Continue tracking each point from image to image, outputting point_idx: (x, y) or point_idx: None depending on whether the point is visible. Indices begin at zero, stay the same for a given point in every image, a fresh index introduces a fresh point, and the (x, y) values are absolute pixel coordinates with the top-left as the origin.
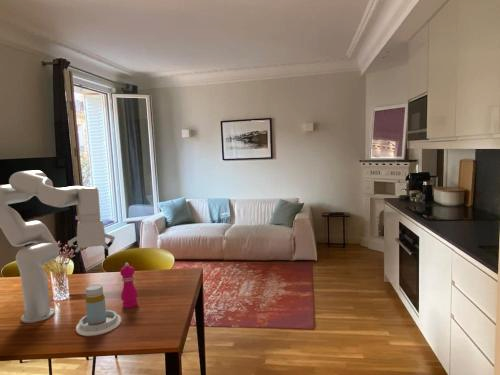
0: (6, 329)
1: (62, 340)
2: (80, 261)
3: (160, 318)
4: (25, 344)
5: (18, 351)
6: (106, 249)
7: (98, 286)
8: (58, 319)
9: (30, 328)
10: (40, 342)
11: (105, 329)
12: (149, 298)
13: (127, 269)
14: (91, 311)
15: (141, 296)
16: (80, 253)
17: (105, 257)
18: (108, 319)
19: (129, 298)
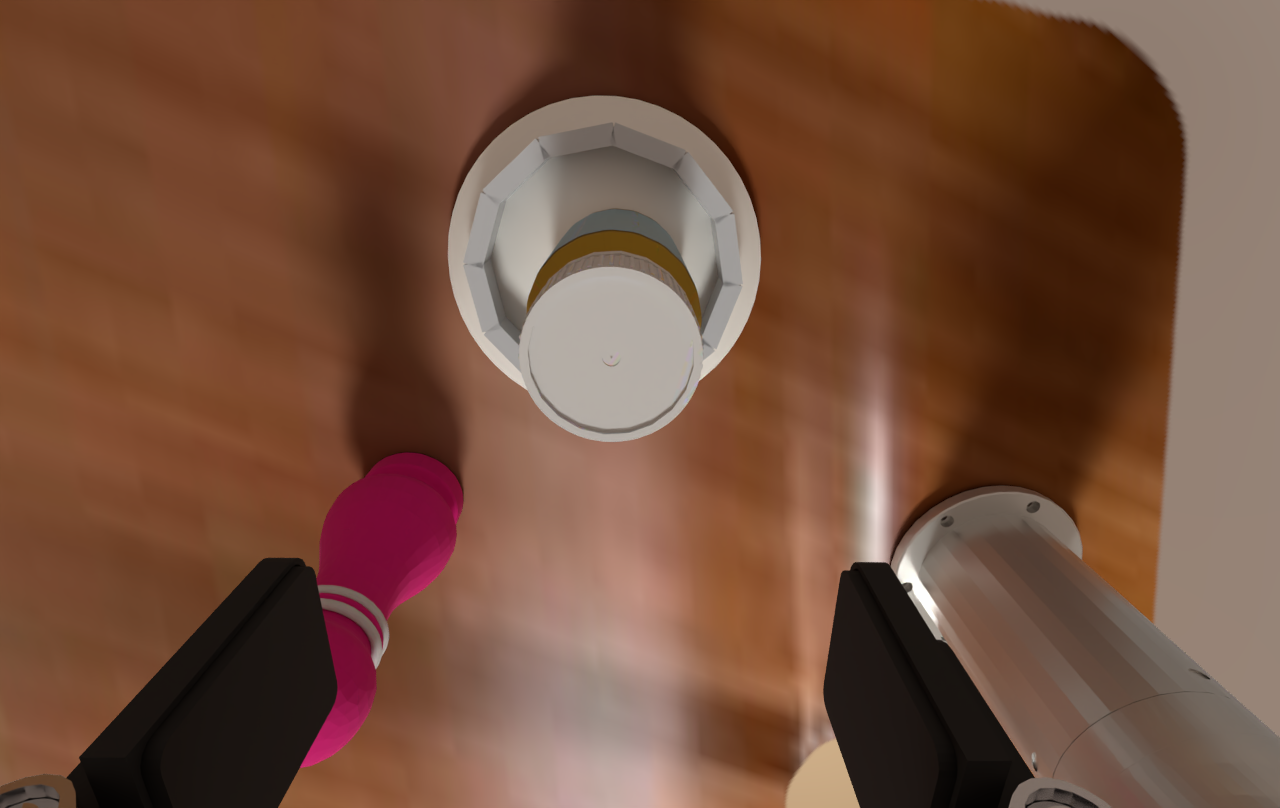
0: (1154, 463)
1: (842, 129)
2: (845, 572)
3: (147, 168)
4: (1065, 186)
5: (1111, 95)
6: (105, 786)
7: (565, 367)
8: (867, 472)
9: (1027, 415)
10: (977, 170)
11: (550, 122)
12: (286, 546)
13: None
14: (649, 228)
15: None
16: (891, 791)
17: (274, 572)
18: None
19: (382, 480)
